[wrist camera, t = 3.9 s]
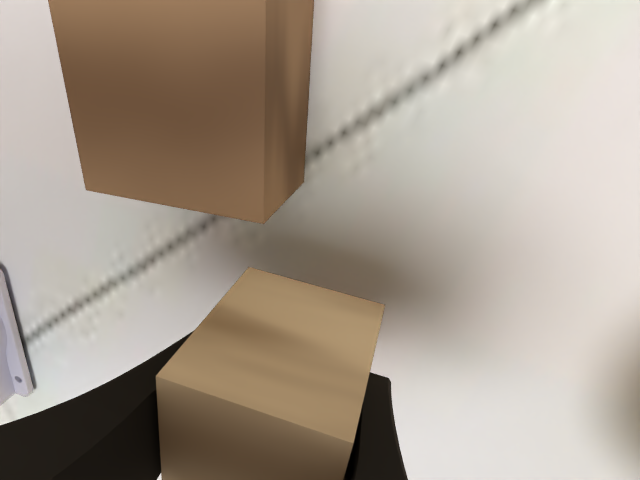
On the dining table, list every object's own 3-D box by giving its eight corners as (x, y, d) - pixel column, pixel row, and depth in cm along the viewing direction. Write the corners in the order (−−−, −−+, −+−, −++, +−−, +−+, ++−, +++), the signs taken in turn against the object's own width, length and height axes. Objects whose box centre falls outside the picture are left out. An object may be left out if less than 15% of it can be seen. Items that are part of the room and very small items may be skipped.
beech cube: (357, 405, 15) (321, 557, 11) (241, 368, 16) (162, 495, 11) (385, 305, 13) (353, 443, 8) (249, 267, 14) (156, 376, 9)
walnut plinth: (305, 180, 15) (263, 223, 12) (161, 157, 17) (85, 190, 13) (316, -8, 13) (266, -23, 9) (142, -20, 14) (40, -37, 10)
